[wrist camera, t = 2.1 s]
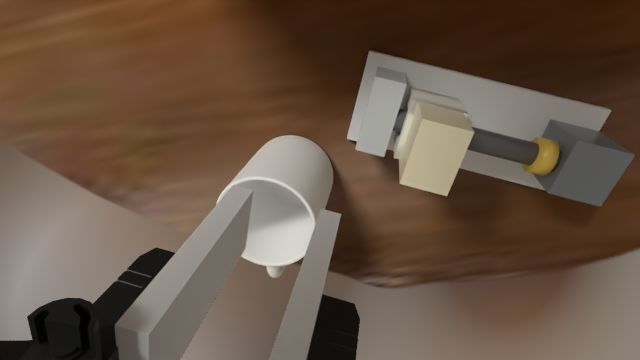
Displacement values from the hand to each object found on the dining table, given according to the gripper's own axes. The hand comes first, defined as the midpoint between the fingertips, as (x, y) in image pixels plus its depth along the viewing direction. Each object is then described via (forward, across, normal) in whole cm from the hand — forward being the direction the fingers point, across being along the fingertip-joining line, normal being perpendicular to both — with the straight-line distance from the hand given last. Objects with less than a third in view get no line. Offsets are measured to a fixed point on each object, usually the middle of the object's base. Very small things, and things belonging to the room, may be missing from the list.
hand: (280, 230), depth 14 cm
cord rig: (+23, +11, 0) cm, 25 cm away
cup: (+23, -3, -11) cm, 25 cm away
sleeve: (+20, +7, 0) cm, 21 cm away
